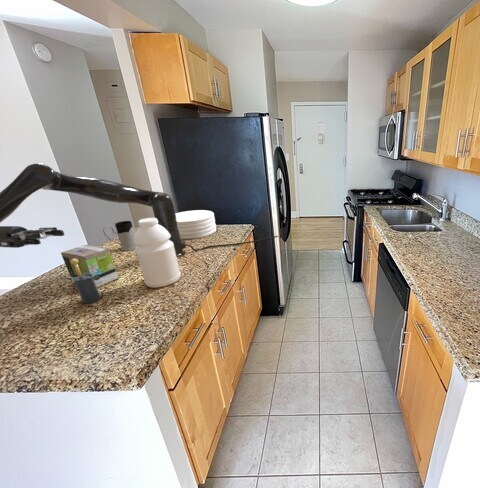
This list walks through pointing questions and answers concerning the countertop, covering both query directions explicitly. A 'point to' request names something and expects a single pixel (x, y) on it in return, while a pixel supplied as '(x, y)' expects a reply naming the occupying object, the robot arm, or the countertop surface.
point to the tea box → (91, 263)
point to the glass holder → (125, 235)
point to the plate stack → (195, 223)
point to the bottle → (156, 254)
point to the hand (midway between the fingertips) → (51, 236)
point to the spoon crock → (85, 285)
